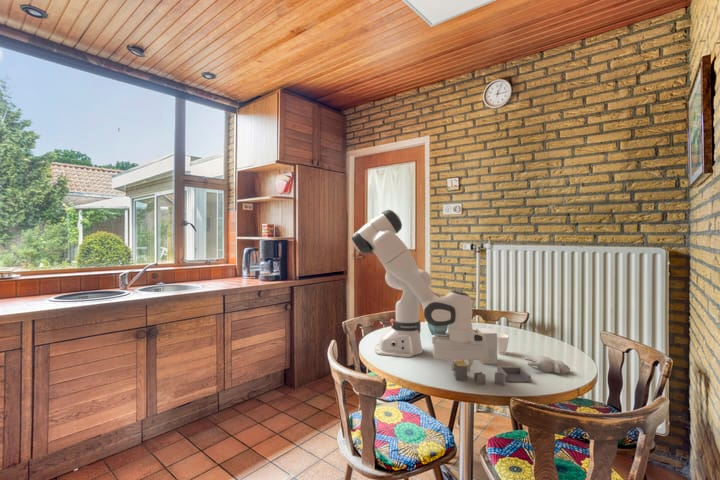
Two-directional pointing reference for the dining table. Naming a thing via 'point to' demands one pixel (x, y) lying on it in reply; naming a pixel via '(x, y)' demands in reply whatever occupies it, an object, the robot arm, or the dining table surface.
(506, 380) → the end holder
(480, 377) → the clip
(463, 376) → the connector
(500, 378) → the clip
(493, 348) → the small box
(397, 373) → the dining table surface
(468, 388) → the dining table surface
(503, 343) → the cup
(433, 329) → the flower pot
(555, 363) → the bunny figurine
